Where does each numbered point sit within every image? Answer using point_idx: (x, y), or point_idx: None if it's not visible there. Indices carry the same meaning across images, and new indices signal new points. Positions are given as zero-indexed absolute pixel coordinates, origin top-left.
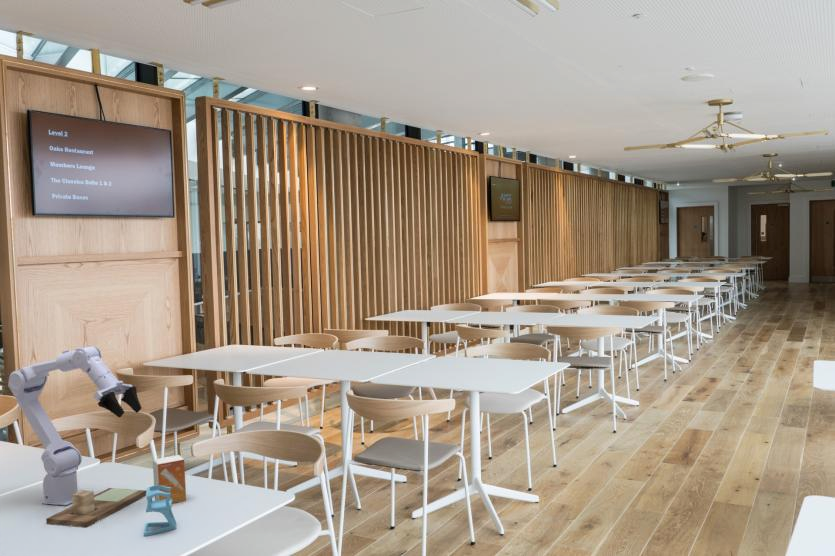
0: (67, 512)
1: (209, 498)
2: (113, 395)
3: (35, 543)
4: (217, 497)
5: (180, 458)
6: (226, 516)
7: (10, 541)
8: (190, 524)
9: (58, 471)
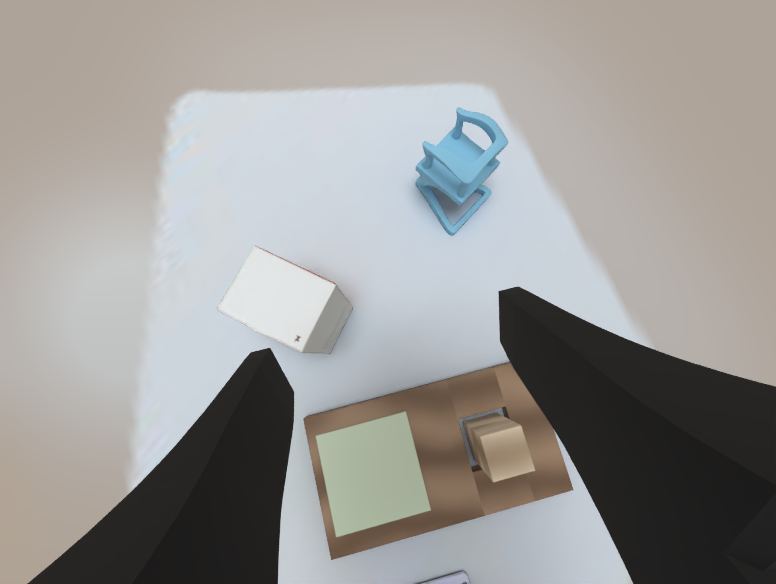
0: (518, 476)
1: (262, 239)
2: (746, 425)
3: None
4: (250, 226)
5: (252, 264)
6: (335, 125)
7: None
8: (400, 158)
9: None
